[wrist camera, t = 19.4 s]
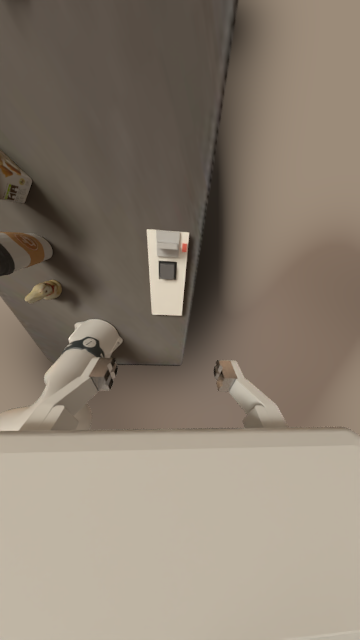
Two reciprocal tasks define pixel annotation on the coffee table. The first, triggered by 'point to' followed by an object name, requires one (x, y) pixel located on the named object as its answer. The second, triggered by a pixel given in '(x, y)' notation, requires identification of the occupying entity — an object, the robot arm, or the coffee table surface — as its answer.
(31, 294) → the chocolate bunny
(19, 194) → the coffee box
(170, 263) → the dark grey cube
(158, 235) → the grey lid with handle
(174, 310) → the socket plate
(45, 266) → the coffee table surface
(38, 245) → the coffee cup
